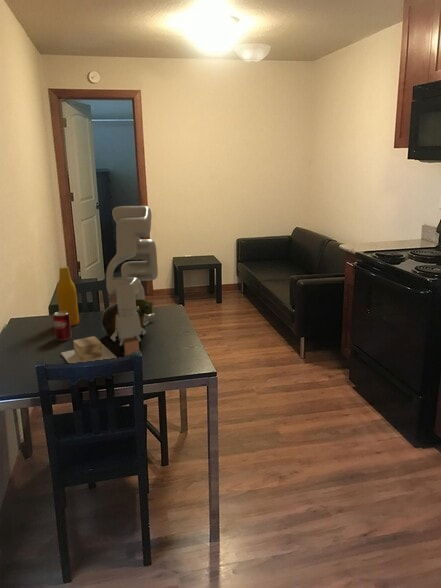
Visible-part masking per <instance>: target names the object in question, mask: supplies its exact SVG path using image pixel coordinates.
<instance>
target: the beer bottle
mask: <svg viewBox="0 0 441 588" xmlns="http://www.w3.org/2000/svg"><path fill="white" fill-rule="evenodd" d="M58 273H59V277H58V283H57V286H56V295H57V305H58V307H57V308H58V312H61V311H66V312H68V313H69V314H70V324H71V327H74V326H77V325H79V323H80V317H79V316H80V315H79V306H78V297H77V288H76V285H75V283H74V281H73V280H72V278H71V274H70V269H69V266H60V267H59V272H58Z"/></svg>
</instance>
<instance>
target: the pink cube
mask: <svg viewBox="0 0 441 588" xmlns="http://www.w3.org/2000/svg"><path fill="white" fill-rule="evenodd" d="M123 346H124V354H122V355H123V356H124V357H126V355H130V354H132V353H133V352H135V351H138V350H139V341H138V340H137V339H136V338H135V337H131V338H126V339H124V341H123ZM139 351H140V350H139Z"/></svg>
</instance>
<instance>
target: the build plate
mask: <svg viewBox="0 0 441 588" xmlns="http://www.w3.org/2000/svg"><path fill="white" fill-rule="evenodd" d="M101 345H102V356H100V357H96V358H92V359H87V360H83V361H80V359H79V358H78V357H77V356H76V355H75V352H74V349H72V350H67V351H63V352H60V355H61V356H62V357H63V358H64V360H65V361H66V362H67V364H68V363H77V362H87V361H95V360H103V359H111V358H117V359H118V357H117V356H116V354H114V353H113V352H112V351H111V350H110V349H109V348H108V347H106V346H105V345H104V344H103V343H101Z"/></svg>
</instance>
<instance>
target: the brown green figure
mask: <svg viewBox="0 0 441 588" xmlns="http://www.w3.org/2000/svg"><path fill="white" fill-rule="evenodd" d="M153 305H154V304H153V302H152V301H147V300H142V299H139V300H136V306H137V307H138V306H139V310H137V313H138V315H139V319H140V325H141V327H142V328H143V329H145V330H146V327H145V326H144V324H143V322H144V319H143V318H144V317H145V314H147V315H150V314H153ZM117 314H118V306H117V302H116V303H114V304H111V305H109V306H108V307H107V308H105V310H104V311H103V312H102V315H101V327H102V330H103V331H104V333H105V335H106V336H107V337H111V336H112V335H113V334H114V332H115V320H116V315H117ZM141 332H142V331H141ZM115 338H117V336H116V337H115Z"/></svg>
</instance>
